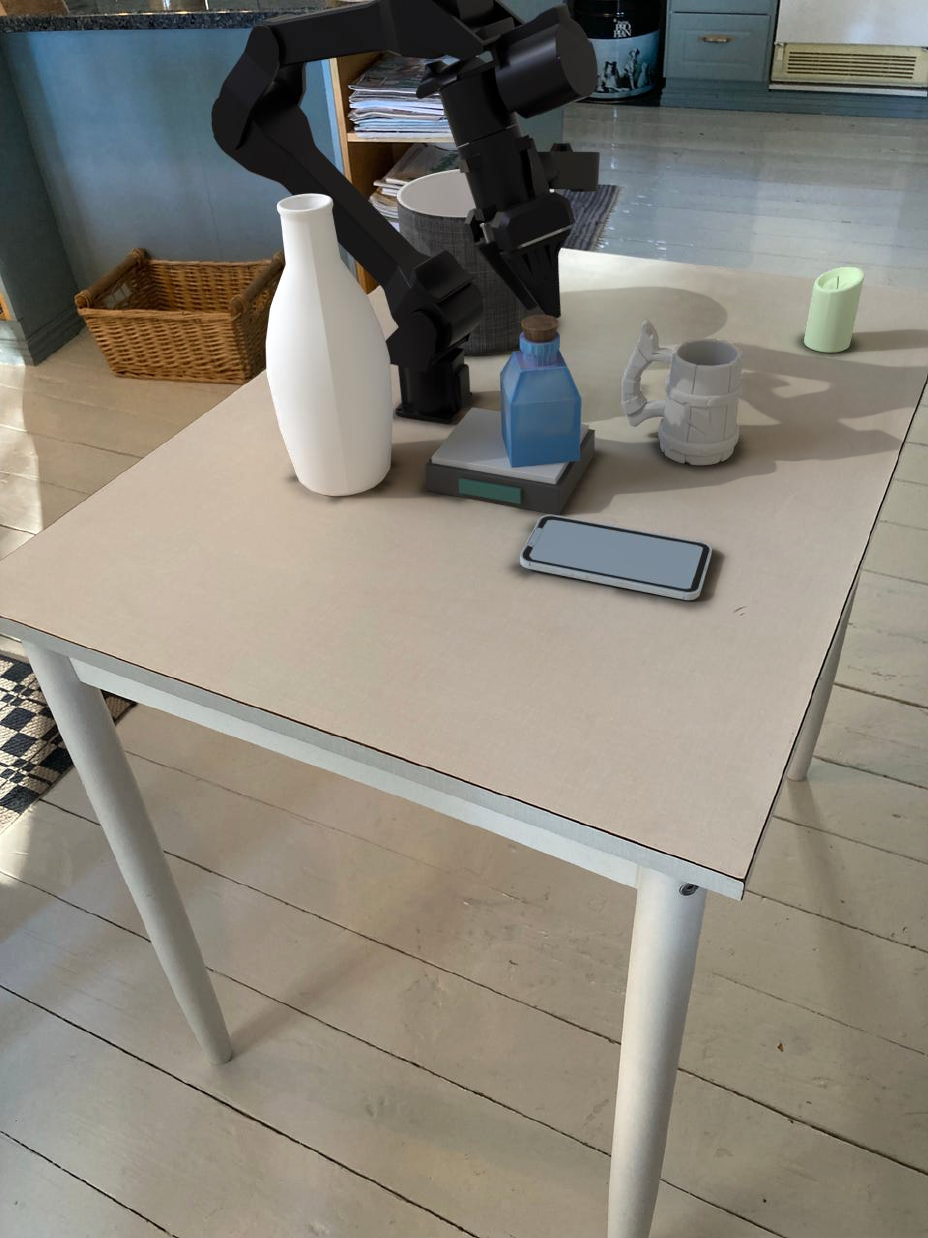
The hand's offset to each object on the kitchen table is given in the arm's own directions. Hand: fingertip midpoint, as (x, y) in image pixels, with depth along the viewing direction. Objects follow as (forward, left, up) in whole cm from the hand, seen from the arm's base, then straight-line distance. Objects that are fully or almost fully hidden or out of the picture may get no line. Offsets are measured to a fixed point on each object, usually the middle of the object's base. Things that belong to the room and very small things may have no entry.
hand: (543, 313), depth 92 cm
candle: (+24, +30, -13) cm, 40 cm away
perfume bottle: (+2, -8, -10) cm, 12 cm away
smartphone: (+12, -18, -13) cm, 25 cm away
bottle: (-16, -12, -13) cm, 24 cm away
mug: (+13, +3, -13) cm, 19 cm away
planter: (-16, +24, -13) cm, 32 cm away
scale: (-1, -7, -13) cm, 15 cm away
